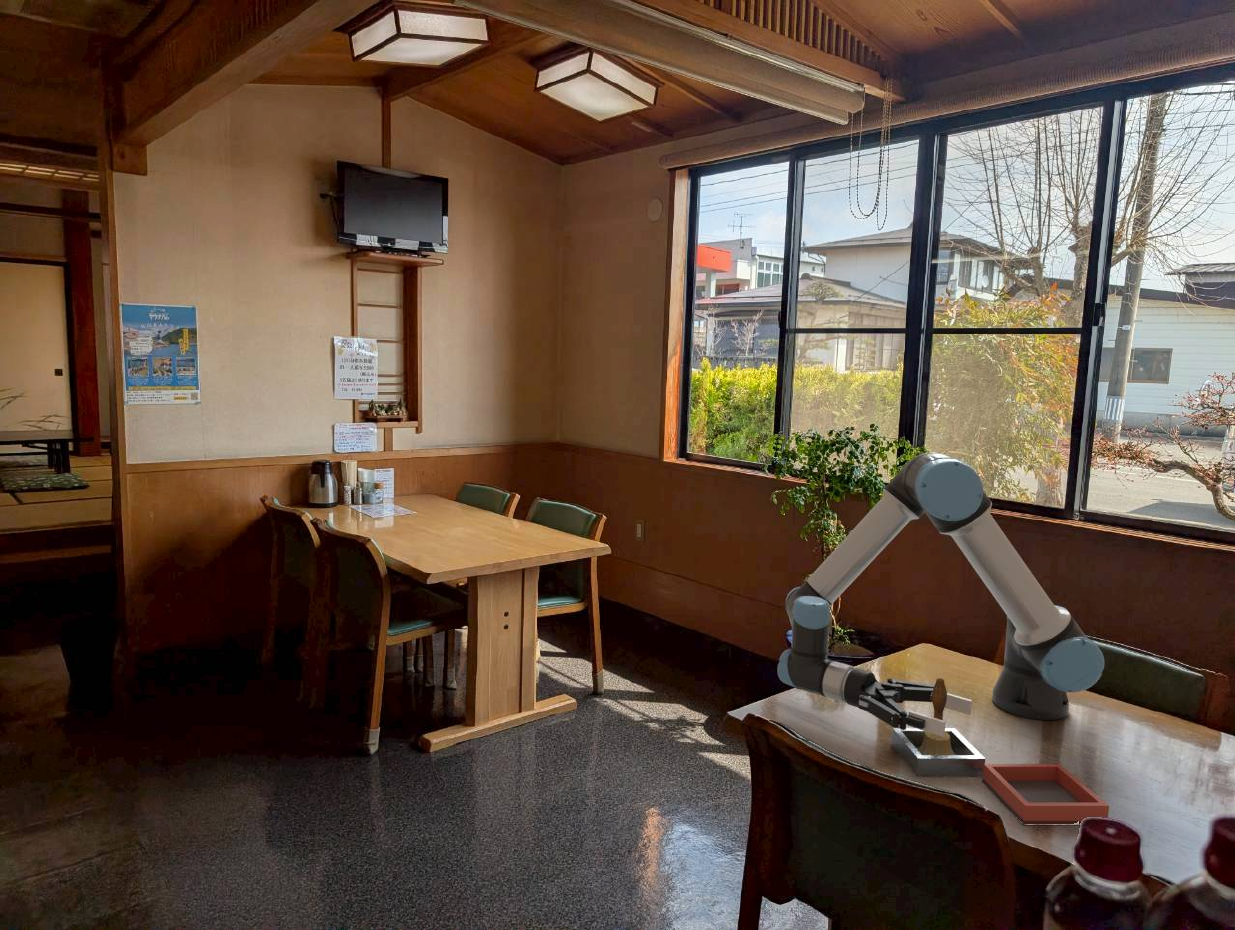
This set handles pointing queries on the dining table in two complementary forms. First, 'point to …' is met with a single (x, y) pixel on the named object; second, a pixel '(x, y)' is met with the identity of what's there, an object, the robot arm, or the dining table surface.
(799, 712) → the dining table surface
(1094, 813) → the tray
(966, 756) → the grey square open box
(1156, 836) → the dining table surface
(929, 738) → the hand bell
